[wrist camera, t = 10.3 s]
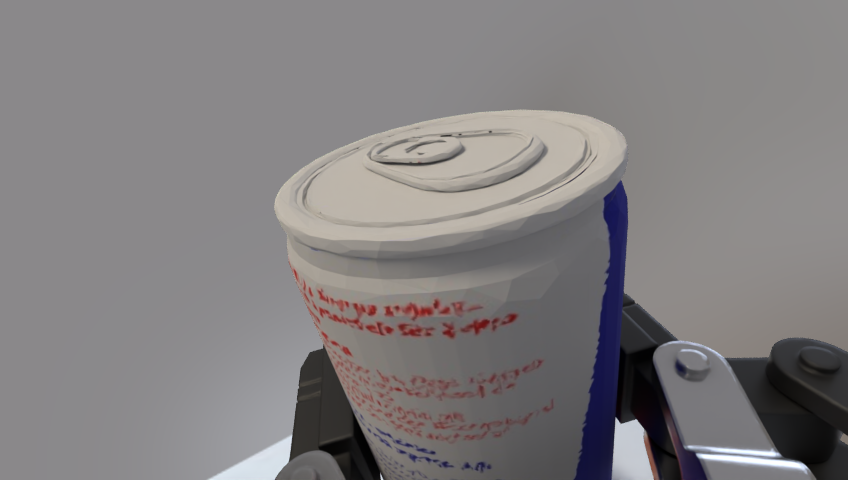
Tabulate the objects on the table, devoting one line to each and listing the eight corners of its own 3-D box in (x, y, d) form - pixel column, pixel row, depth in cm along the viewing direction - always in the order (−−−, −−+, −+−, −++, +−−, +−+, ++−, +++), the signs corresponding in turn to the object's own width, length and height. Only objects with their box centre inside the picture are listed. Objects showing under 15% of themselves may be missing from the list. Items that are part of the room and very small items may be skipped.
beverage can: (634, 687, 11) (742, 180, 3) (433, 686, 11) (178, 268, 4) (574, 477, 16) (568, 85, 8) (436, 486, 16) (320, 133, 9)
